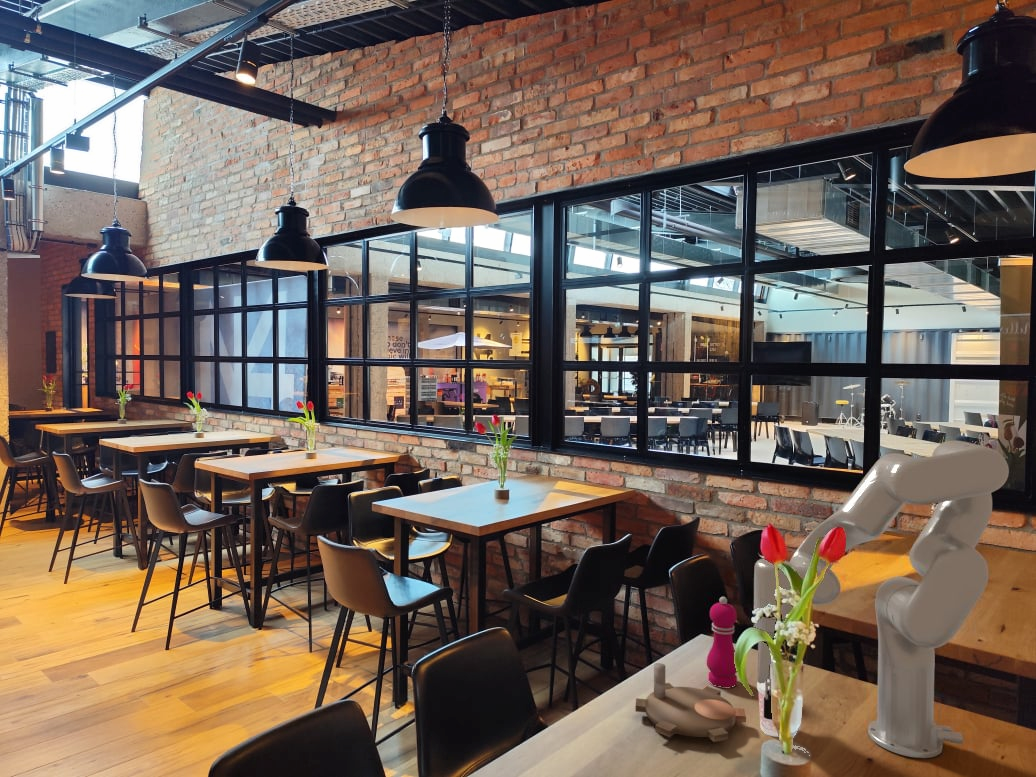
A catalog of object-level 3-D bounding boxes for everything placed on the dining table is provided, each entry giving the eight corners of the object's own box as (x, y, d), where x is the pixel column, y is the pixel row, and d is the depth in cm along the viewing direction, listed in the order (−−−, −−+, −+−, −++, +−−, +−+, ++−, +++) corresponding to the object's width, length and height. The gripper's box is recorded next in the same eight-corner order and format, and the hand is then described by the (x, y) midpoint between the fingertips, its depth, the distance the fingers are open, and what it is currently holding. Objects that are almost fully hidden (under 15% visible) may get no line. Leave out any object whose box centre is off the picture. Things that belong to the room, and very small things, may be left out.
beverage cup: (767, 740, 133) (767, 669, 133) (750, 724, 139) (751, 656, 139) (795, 736, 134) (796, 666, 134) (777, 721, 140) (778, 653, 140)
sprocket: (671, 679, 155) (671, 645, 155) (759, 709, 141) (760, 672, 141) (618, 716, 139) (618, 678, 139) (711, 754, 125) (712, 712, 125)
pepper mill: (732, 692, 152) (733, 604, 152) (701, 683, 157) (702, 597, 156) (743, 681, 158) (744, 595, 158) (713, 672, 163) (713, 589, 162)
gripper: (755, 605, 145) (754, 688, 146) (752, 635, 129) (751, 728, 130) (793, 610, 143) (792, 694, 143) (794, 641, 127) (793, 736, 127)
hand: (772, 710), depth 137 cm, fingers closed on beverage cup, 6 cm apart
